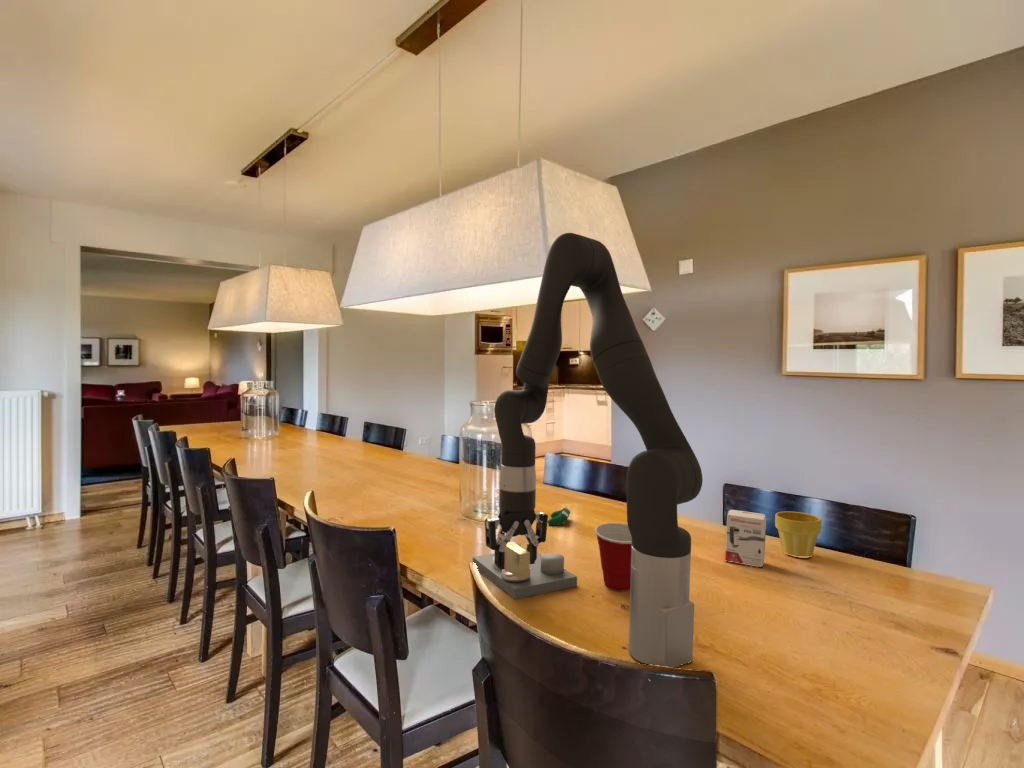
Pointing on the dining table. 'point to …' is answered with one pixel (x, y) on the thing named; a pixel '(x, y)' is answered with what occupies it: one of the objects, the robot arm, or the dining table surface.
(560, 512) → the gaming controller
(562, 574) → the base
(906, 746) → the dining table surface
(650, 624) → the robot arm
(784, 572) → the dining table surface
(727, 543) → the ink box
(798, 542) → the plant pot
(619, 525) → the plastic cup
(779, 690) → the dining table surface
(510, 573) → the wing knob
